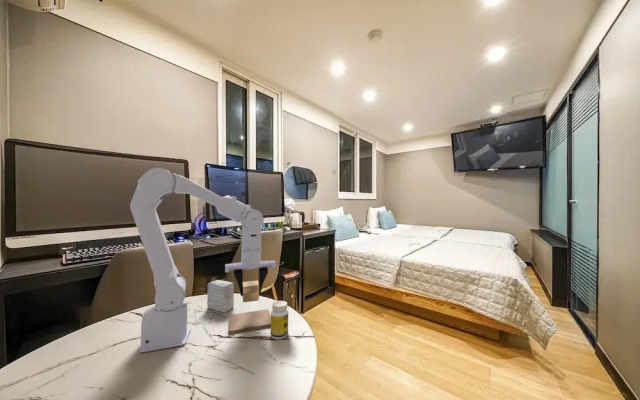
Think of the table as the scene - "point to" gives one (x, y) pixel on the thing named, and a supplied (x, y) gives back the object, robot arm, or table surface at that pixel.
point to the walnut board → (249, 321)
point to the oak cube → (250, 291)
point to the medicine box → (220, 295)
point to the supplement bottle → (279, 320)
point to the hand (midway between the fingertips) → (250, 293)
